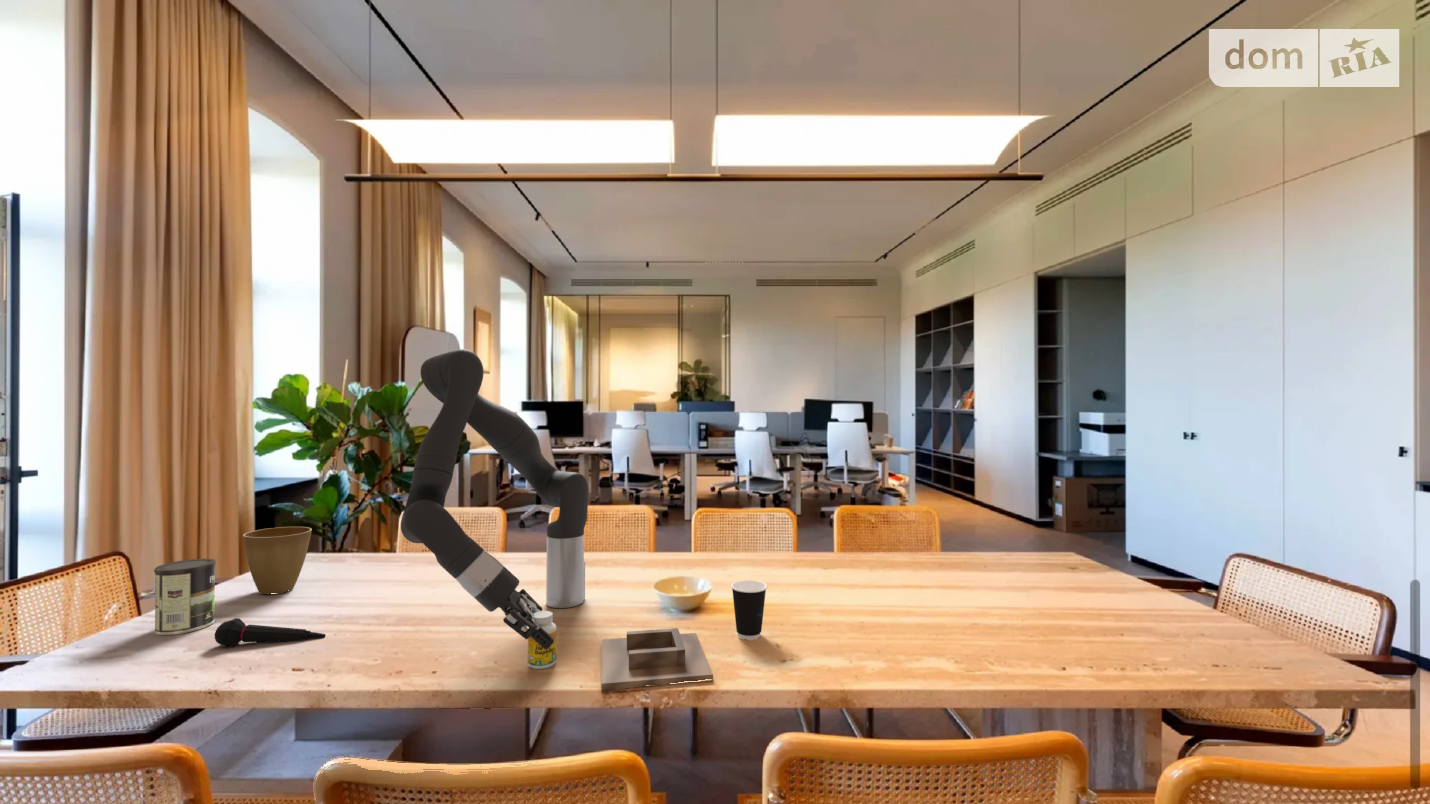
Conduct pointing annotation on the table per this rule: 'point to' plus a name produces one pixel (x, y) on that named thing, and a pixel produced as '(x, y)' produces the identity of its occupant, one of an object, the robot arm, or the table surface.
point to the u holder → (652, 659)
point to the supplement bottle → (536, 652)
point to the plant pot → (276, 557)
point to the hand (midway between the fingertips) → (551, 638)
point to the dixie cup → (749, 607)
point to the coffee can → (184, 596)
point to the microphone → (259, 633)
